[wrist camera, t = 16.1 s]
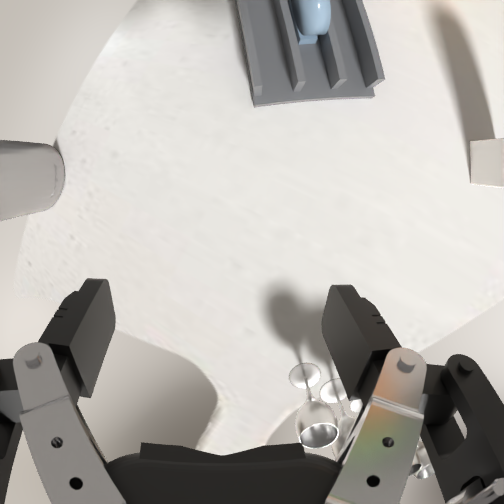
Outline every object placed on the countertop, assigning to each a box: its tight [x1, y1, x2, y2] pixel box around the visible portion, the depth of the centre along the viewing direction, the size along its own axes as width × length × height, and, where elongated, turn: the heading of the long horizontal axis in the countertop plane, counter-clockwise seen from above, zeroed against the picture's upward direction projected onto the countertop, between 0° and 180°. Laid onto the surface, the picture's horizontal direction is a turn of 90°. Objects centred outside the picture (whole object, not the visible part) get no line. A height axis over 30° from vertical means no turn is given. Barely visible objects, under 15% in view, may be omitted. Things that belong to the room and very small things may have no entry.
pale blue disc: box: [288, 0, 331, 45], centre depth 24 cm, size 8×2×10 cm, turn 10°
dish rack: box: [235, 0, 385, 107], centre depth 27 cm, size 20×14×5 cm
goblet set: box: [289, 363, 435, 479], centre depth 35 cm, size 28×6×13 cm, turn 56°
